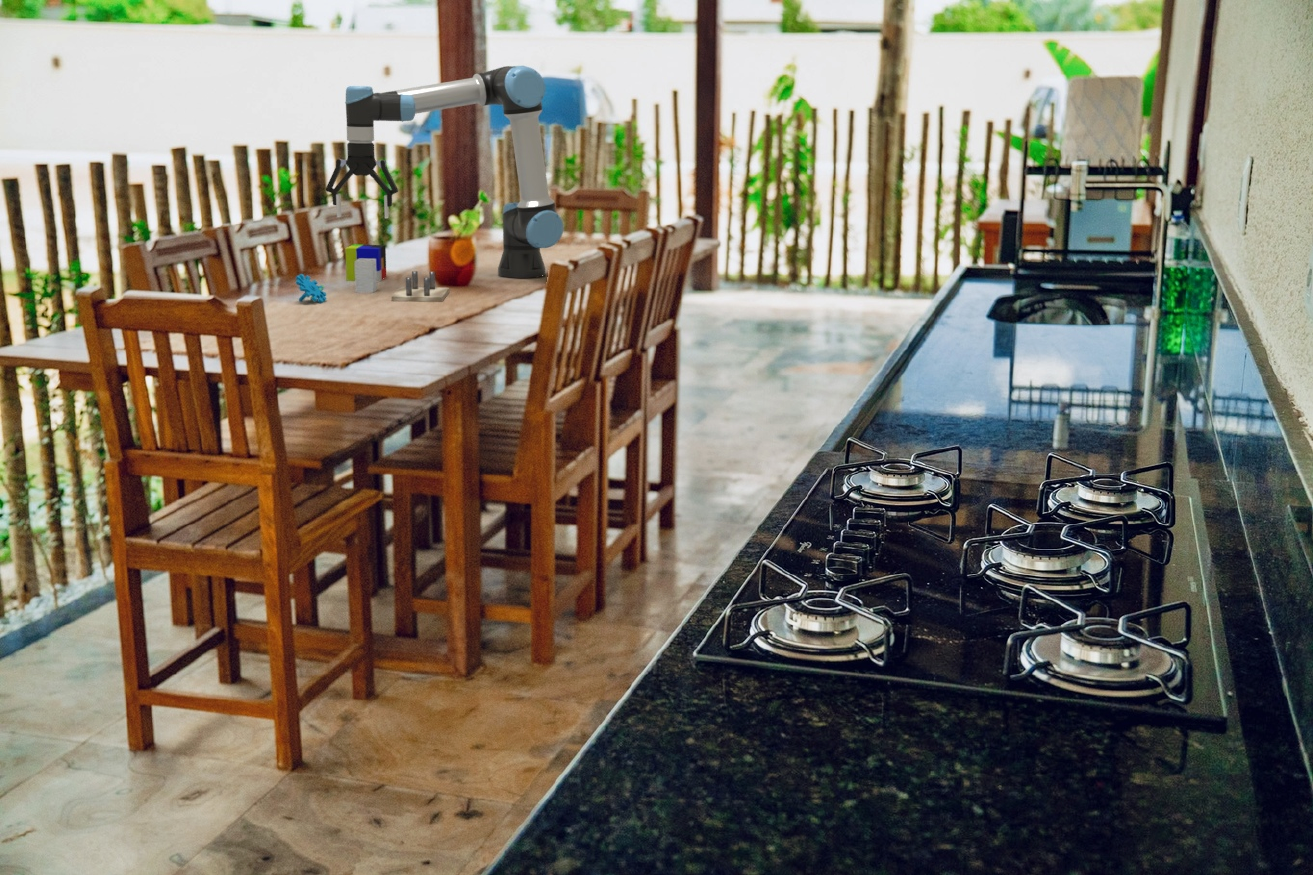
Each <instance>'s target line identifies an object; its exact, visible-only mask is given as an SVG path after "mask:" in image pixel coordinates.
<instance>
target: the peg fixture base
mask: <svg viewBox="0 0 1313 875" xmlns="http://www.w3.org/2000/svg"><path fill="white" fill-rule="evenodd" d="M418 273H419V272H418V271H417V270H412V271H411V276H408V277H405V286H400V288H398V289H397V290H396V292H394V293H393V294H392V295H391V298H390V299H391V302H428V303H429V302H435V303H436V302H437V303H439V302H441V303H442V302H443V301H444V299H446V297H447V295H449V293H450V287H436V274H435V273H436V272H435V271H431V270H430V271H429V277H423V287H420V286H419V281H418V280H419V278H418V277H419V274H418Z"/></svg>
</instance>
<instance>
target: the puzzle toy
mask: <svg viewBox="0 0 1313 875" xmlns="http://www.w3.org/2000/svg"><path fill="white" fill-rule="evenodd" d="M386 248H387V247H386V245H384V244H383V245H382V244H355V243H354V244H351V245H350V246H347V247H346V248H344V249H345V251H344V252H345V269H346V270H345V272H346V275H345V276H346V282H355V261H356V260H357V259H359V258H365V259H376V271H377V281H378V282H379V281H380V282H381V281H383V280H384V279H386V278H387V257H386V256H387V253H386V252H387V249H386ZM383 278H384V279H383ZM382 279H383V280H382ZM378 282H377V283H378Z"/></svg>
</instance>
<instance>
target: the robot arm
mask: <svg viewBox="0 0 1313 875" xmlns="http://www.w3.org/2000/svg"><path fill="white" fill-rule="evenodd" d="M345 89H346V90H345V102H344V103H345V113H346V115H345V116H346V140H347V142H348V143H347V144H346V145H347V146H346V149H347V158H346V159H341V158H337V159H336V160H335V167H334V170H333V172H332V174H331V177H329V178H330V179H329V181H328V183H327V185H326V188H325V191H326V192H327V193H331V195H332V205H333V206H336V218H342V198H341V197H342V196H341V193H339V192H340V190H341V189H342V188H343V187H344V185H345V184H346V183H347V182H348V181H349V180H350V178H351V177H352V176H357V177H358V176H363V177H367V176H370V177H371V178H372V179H373V180H374V181H375V183H377V185H378V186H379V187H380V188H381V189H382V191H384V193H385V195H384V196H383V200H384V201H383V202H384V206H383V208H384V219H389V218H390V213H389V212H390V209H389V207H390V208H391V207H392V206H393V195H395V194H397V193H399V188H398V186H397V184H396V182H395V180H394V178H393V177H392V175H391V173H390V171H389V169H388V167H387V166H388V165H387V160H386V159H382V160H376V157H375V144H374V143H373V142H374V141H375V127H374V123H375V122H379V121H380V122H402V123H403V122H411V121H413V120H414V118H415V116H416V115H417V114H422V113H427V112H428V113H429V112H435V111H441V110H445V109H446V110H447V109H453V108H458V107H463V106H469V105H474V104H477V105H479V106H480V107H484V106H493V105H494V106H496V105H497V106H502V111H503V115H504V117H506V118H507V119H508V120H509V124H510V129H511V130H510V132H511V139H512V143H513V144H512V145H513V152H514V158H515V165H516V171H517V172H516V174H517V179H518V180H517V181H518V185H519V186H518V187H519V194H520V201H519V202H507V203H505V204H504V205H503V207H502V238H503V239H502V240H503V241H502V245H503V246H502V247H503V248H502V249H503V251H502V254H501V257H500V261H499V264H498V267H497V268H498V269H497V275H498V276H500V277H503V278H511V279H512V278H513V279H532V278H531V277H536V278H540V277H539V276H542V275H543V276H542V277H545V276H546V266H545V263H544V259H543V256H542V253H541V249H548V248H551V247H553V246H555V245H556V244H557V243H558V242H560V239H562V236H563V233H564V222H563V219H562V217H561V216H560V215H559V214H558V213H557V210H556V209H557V208H556V203H555V199H553V198H551V197H550V194H549V188H548V181H547V173H546V166H545V158H544V157H545V156H544V150H543V144H542V143H543V142H542V135H541V127H540V121H539V116H540V114H542V112H543V105H542V101H543V99H544V97H545V94H546V84H545V81H544V78H543V77H542V75H541V74H540V73H539V72H538V71H537V70H536V69H534V68H532V67H529V66H526V65H514V66H512V65H511V66H510V65H509V66H508V65H507V66H502V67H497V68H495V69H491V70H487V71H484V72H479V73H475V74H473V76H472V77H469V78H463V79H458V80H452V81H446V82H440V83H433V84H428V85H426V84H425V85H420V86H416V87H409V88H404V89H397V90H392V91H390V90H389V91H385V92H374V91H373V90H374V88H373V87H372V86H368V85H367V86H365V85H348V87H346V88H345ZM374 121H375V122H374ZM345 165H346V166H347V167H348V169H349V170H348V171H347V172H346V173H345V175H344V176H343V177H342V178H341V179H340V181H339V182H338V184H337V185H336V186H334V185H335V183H336V181H337V179H338V177H339V174H340V172H341V170H342V168H343V167H344V166H345ZM376 166H378V168H380V169H381V171H382V174H383V175H384V178H385V179H386V181H387V183H388V185H389V186H388V185H387V183H385V181H383V180H382V178H381V177H380V176H379V175H378V173H377V172H376V170H375V168H376ZM333 187H334V188H333ZM544 275H545V276H544Z"/></svg>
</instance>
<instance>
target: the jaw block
mask: <svg viewBox="0 0 1313 875" xmlns="http://www.w3.org/2000/svg"><path fill="white" fill-rule="evenodd" d="M354 282H355V283H354V284H355V293H356V294H357V293H359V294H360V293H362V294H363V293H364V294H366V293H367V294H368V293H369V294H374V293H375V292H376V291H377V290H378V282H377V271H376V259H365V258H359V259H357V260H356V261H355V281H354Z"/></svg>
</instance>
